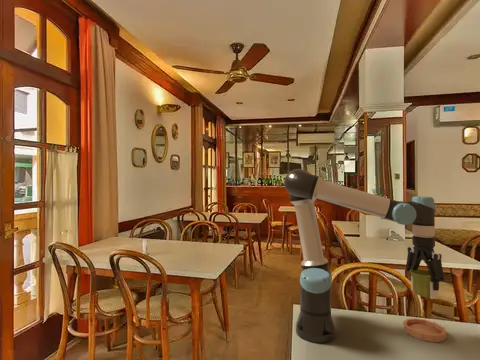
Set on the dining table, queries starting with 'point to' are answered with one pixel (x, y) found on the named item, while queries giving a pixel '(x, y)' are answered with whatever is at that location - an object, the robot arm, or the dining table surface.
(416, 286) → the plant pot
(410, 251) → the robot arm
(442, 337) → the terracotta plant saucer
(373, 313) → the dining table surface
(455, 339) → the dining table surface
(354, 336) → the dining table surface
